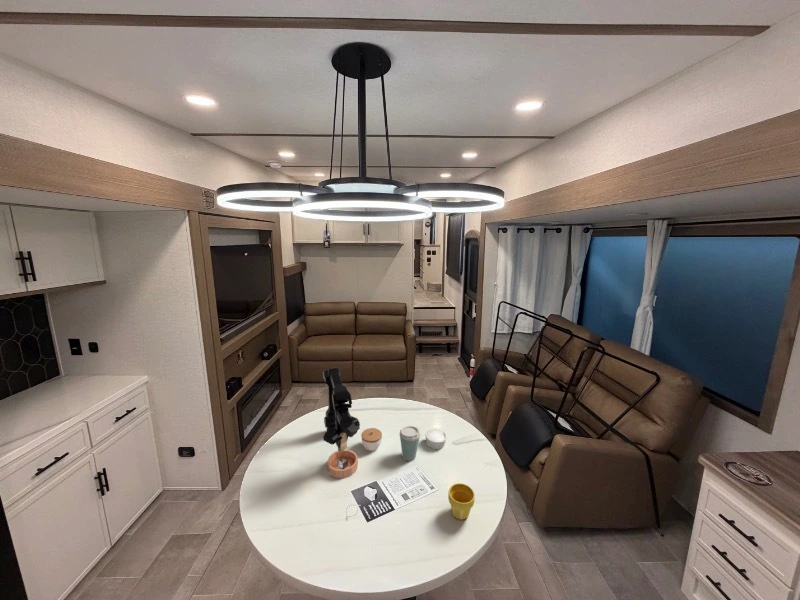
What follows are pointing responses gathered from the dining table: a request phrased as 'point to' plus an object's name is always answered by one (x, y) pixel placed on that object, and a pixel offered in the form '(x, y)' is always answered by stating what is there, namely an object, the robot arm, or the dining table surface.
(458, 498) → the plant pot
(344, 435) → the wooden plank piece
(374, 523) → the dining table surface
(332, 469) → the faceted terracotta bowl
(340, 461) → the clip
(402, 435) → the disposable coffee cup
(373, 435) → the lidded jar
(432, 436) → the ramekin
